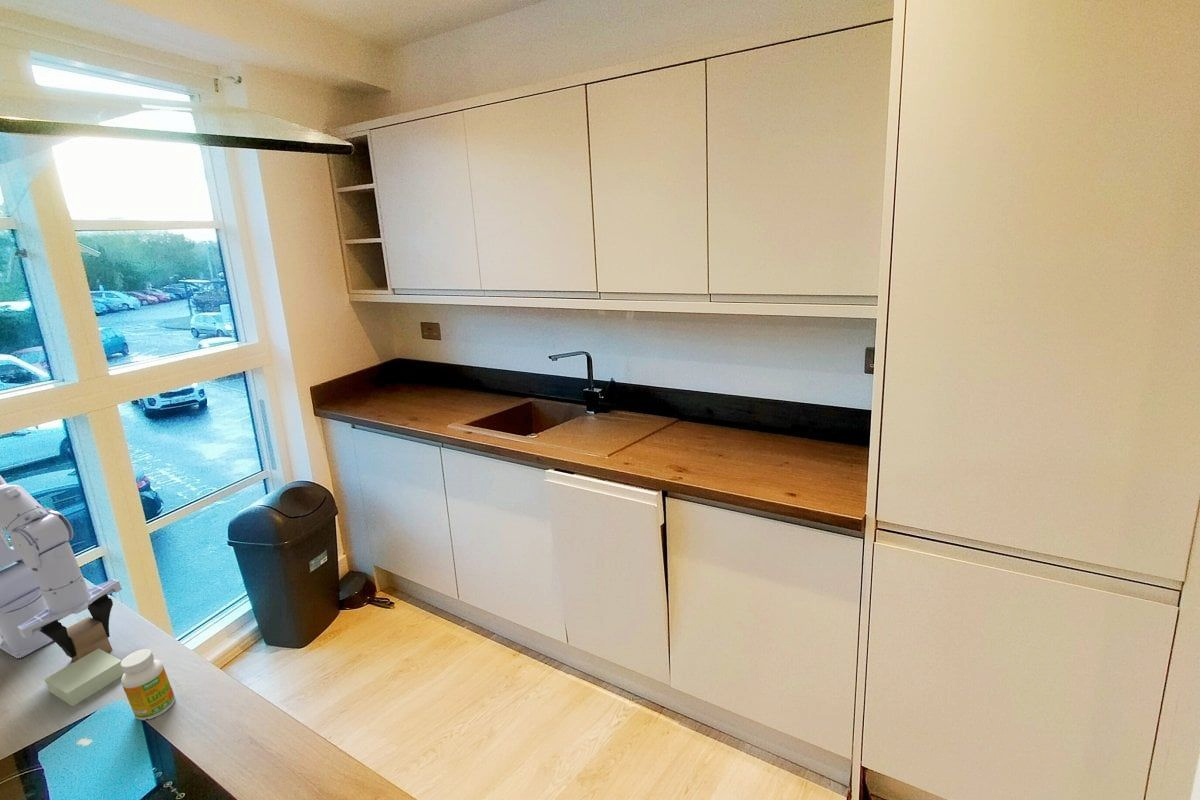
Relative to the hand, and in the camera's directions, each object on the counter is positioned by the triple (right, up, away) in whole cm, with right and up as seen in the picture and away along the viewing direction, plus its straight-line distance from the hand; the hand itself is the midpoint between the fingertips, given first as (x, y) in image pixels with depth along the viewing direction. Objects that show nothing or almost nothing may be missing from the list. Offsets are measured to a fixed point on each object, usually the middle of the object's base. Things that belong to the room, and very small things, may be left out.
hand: (88, 645), depth 112 cm
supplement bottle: (+22, -5, -14) cm, 26 cm away
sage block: (+5, -4, -6) cm, 9 cm away
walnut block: (0, -2, +1) cm, 2 cm away
